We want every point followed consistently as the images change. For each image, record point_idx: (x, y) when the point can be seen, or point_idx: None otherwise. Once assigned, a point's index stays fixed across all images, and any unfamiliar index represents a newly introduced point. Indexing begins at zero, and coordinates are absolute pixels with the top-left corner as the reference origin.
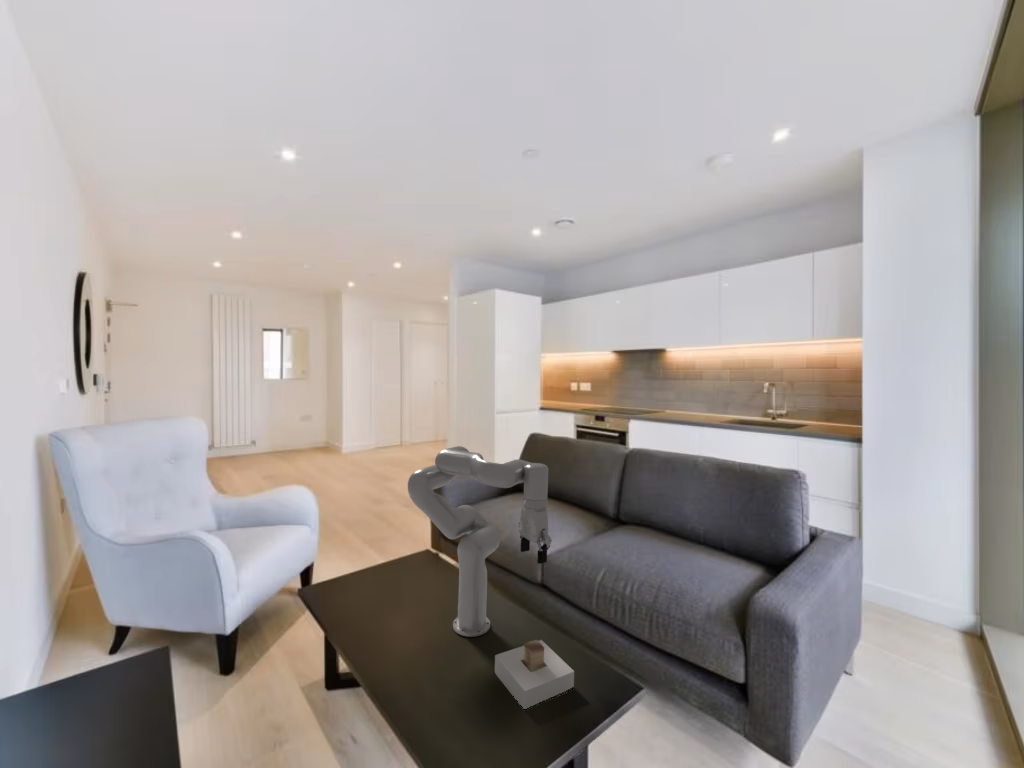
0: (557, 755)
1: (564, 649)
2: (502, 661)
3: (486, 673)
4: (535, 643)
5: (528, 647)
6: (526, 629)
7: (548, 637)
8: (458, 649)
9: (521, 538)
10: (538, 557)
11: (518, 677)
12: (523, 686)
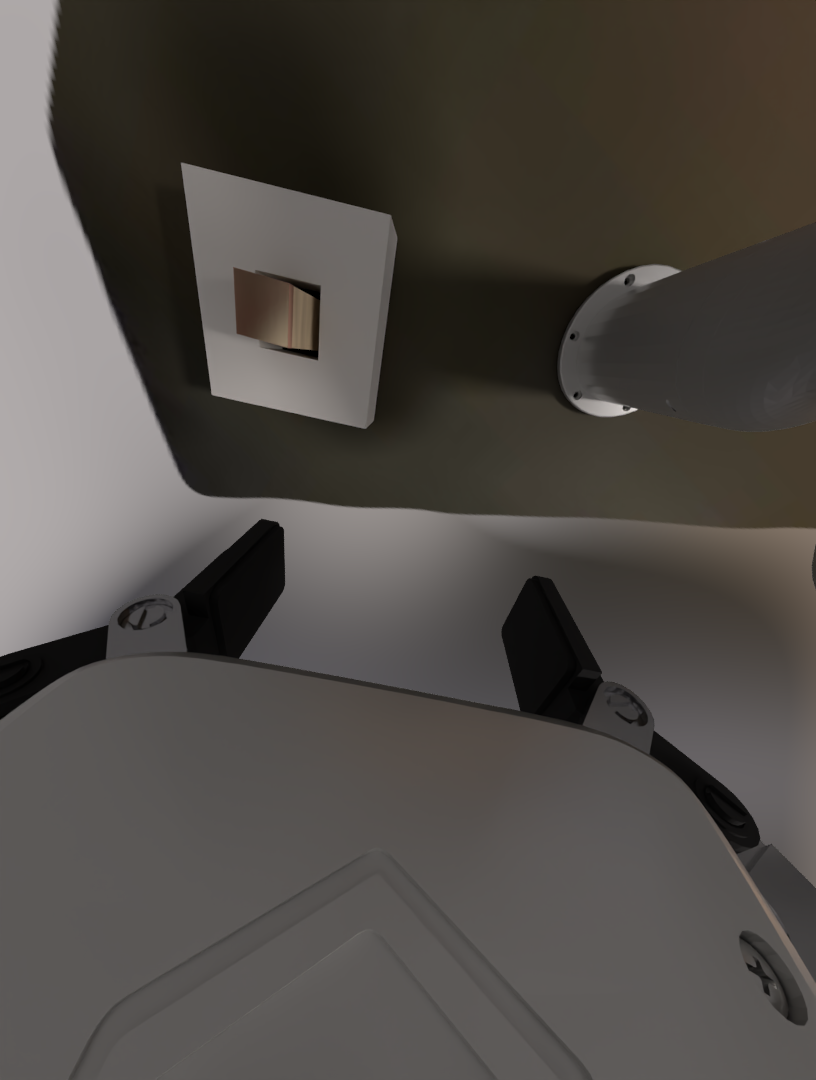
0: (57, 152)
1: (361, 486)
2: (346, 213)
3: (412, 209)
4: (270, 323)
5: (260, 275)
6: (477, 475)
7: (416, 492)
8: (575, 203)
9: (604, 688)
10: (231, 546)
11: (249, 201)
12: (202, 178)
